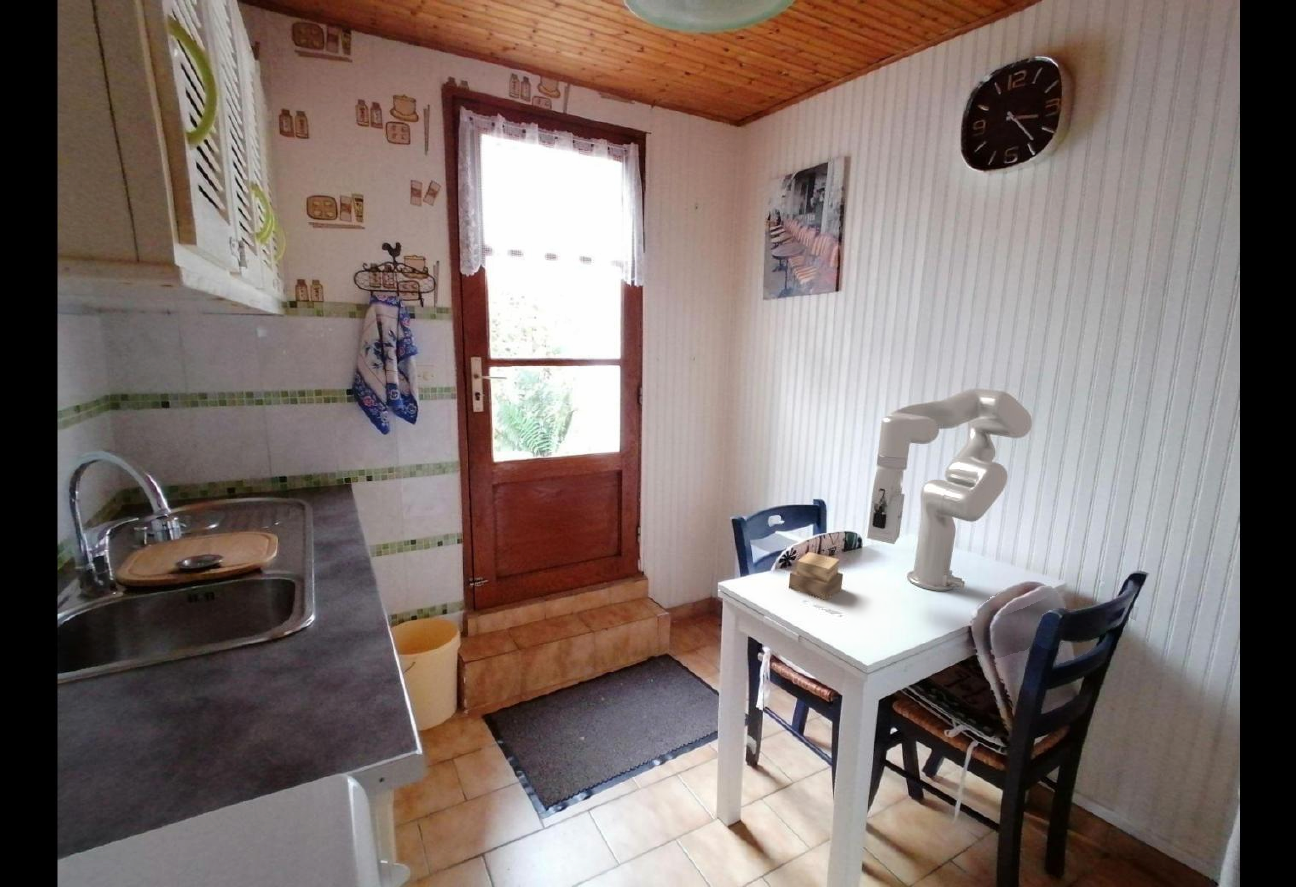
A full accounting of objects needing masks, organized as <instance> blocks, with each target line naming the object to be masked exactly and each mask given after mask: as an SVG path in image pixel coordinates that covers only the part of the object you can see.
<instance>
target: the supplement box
mask: <svg viewBox="0 0 1296 887" xmlns="http://www.w3.org/2000/svg"><path fill="white" fill-rule="evenodd" d="M905 495H906V494H905V493H901V494H899V495H897V496H895V497H893V498H892V501H891V504H890V505H888V506H887V510H886V513H885V514H886V515H887V516H886V524H885V528H884V529H881V528H877V527H873V516H874V501H873V502H872V500H871V499H870V500H871V502H870V511H869V518H868V525H867V526H868V527H867V533H866V534H867V535H866V539H867V540H873V541H877V542H882V543H886V544H889V545H890V544H892V545H895V544H896V542H897V540H898V539H899V538H900V536H901V534H900V531H901V526H902V518H903V513H904V512H903V511H904V510H903V509H904V502H905ZM881 502H883V503H886V500H885V497H883V499H882V501H881ZM881 506H882V508H884V506H883V505H881Z"/></svg>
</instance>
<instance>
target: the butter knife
mask: <svg viewBox="0 0 1296 887" xmlns="http://www.w3.org/2000/svg"><path fill="white" fill-rule="evenodd" d="M804 602H809V601H808V600H806V599H804V600H802V603H804ZM813 607H815V608H818V609H820V608H822V609H821V610H823V611H824V610H825V611H824V612H826V613H829V614H830V615H833V614H843V613H842V612H840V611H837V610H836V609H835V610H834V609H831V608H828V610H827V609H823V608H826V607H824V606H822V605H821V606H820V605H819V604H816V605H813ZM840 617H843V616H842V615H840Z"/></svg>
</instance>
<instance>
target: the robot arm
mask: <svg viewBox="0 0 1296 887" xmlns="http://www.w3.org/2000/svg"><path fill="white" fill-rule="evenodd" d="M966 423H967V440H966V443H965V445H964V446H963V447H962V448H961V450H960V451H959V452H958V453H957V455H956V456H954V457H953V460H952V461H951V462H950V463H949V464H948V466H947V467H946V468H945V469H946V470H944V471H945V472H944V478H945V480H944V479H932V480H931V479H930V480H928V481H926V482H925V483H924V484H923V485H922V487H921V490H920V496H919V497H920V523H919V530H918V531H919V532H918V536H917V544H916V552H915V558H914V565H913V570H911V571H909V572H907V573H906V574H907V575H906V578H907V581H908V582H910V583H912V584H913V585H914V586H917V587H920V588H923V589H926V590H931V591H938V592H946V591H947V592H948V591H950V590H953V588H954V586H957V587H959V588H964V586H965V581H964V580H963V578H961V577H956V576H955V575H953V570H951V566H952V565H951V564H952V557H953V552H954V543H955V539H956V533H957V530H956V524H955V521H954V519H958V520H961V521H966V522H969V523H971V522H976V521H978V520H980V519H981V518H983V517H984V515H985V514H986V513H987V511H988V510H989V509H990V508H991V507H992V505H993V504H994V503H995V502H996V501H997V499H998V498H999V497H1000V495H1001V494H1002V492H1003V491H1004V489H1005V487H1006V485H1007V482H1008V471H1007V469H1006V468H1005V467H1004V465H1002V464H1000V463H999V462H995V461H994V458H995V457H996V454H997V452H996V447H995V445H994V443H993V440H992V438H991V435H993V436H998V437H999V436H1000V437H1005V438H1011V439H1020V438H1024V437H1025V436H1027V435H1028V434H1029V432H1030V431H1031V430H1032V425H1033V419H1032V416H1031V414H1030V412H1029V411H1028V409H1026V407H1025V406H1023V405H1022V404H1021V403H1020V402H1019V401H1018V400H1017V399H1016V398H1015V397H1014V396H1012V395H1011V394H1010V393H1008V392H1006V391H1003V390H994V389H984V388H969V389H966V390H963V391H961V392H959V393H956V394H955V395H952V396H950V397H947V398H945V399H942V400H934V401H929V402H923V403H915V404H911V405H907V406H904V407H901V408H898V409H896V410H894V411H892V412H891V413H890V414H888V415H887V416H884V417H883V418H882V420H881V423H880V432H879V442H878V450H877V458H876V467H877V469H876V472H875V476H874V482H873V487H872V493H871V499H870V500H872V502H873V501H874V516H873V527H877V528H881V529H884V528H885V524H886V516H887V515H886V514H885V513H886V510H887V506H888V505H890V504H891V501H892V498H893V497H895V496H897V495H899V494H903V493H902V492H903V486H904V485H903V484H904V471H905V470H907V469H908V468H907V467H908V460H909V452H910V445H911V444H916V445H917V444H918V445H927V444H930V443H932V442H934V441H935V440H936V439H937V438H938V436H939V434H940V433H939V432H940V430H945V429H946V430H947V429H955V428H957V427H959V426H961V425H963V424H966ZM883 497H885V500H886V503H883V502H881V501H882V499H883ZM881 505H883V506H884V508H882V506H881Z"/></svg>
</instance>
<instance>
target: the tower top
mask: <svg viewBox="0 0 1296 887" xmlns="http://www.w3.org/2000/svg"><path fill="white" fill-rule="evenodd" d="M796 562H797V564H796V569H797V573H796V574H799V575H802V576H806V577H809V578H813V579H816V580H820V581H824V582H827V583H828V582H829V581H830V580H831V579H832V578H833V577H834V576H835V575H836V574H837V573H838V572H839V566H840V565H839V564H840V559H839V558H835V557H832V556H831V557H830V556H827V555H823V554H820V553H819V554H818V553H815V552H811V551H807V553H805V554H804V555H803V556H802V557H800V558H799V559H798V560H797V561H796Z"/></svg>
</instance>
